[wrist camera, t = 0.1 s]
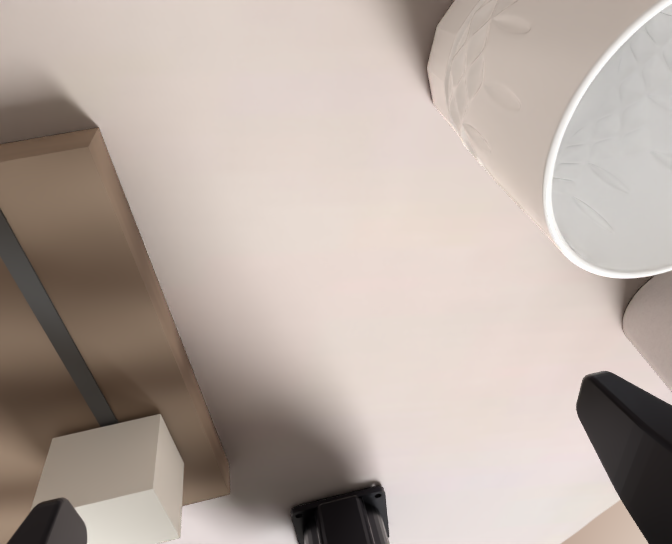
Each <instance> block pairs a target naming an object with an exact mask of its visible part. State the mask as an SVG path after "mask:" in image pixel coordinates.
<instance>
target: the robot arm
mask: <svg viewBox="0 0 672 544" xmlns="http://www.w3.org/2000/svg"><path fill="white" fill-rule="evenodd" d="M576 410H577V414H578V417H579V419H580V421H581V423H582V425H583V427H584V429H585V431H586V433H587V435H588V437H589V439H590V441H591V443H592V445H593V447H594V449H595V451H596V453H597V455H598V457H599V459H600V461H601V463H602V465H603V467H604V469H605V471H606V473H607V474H608V476H609V478H610V480H611V482H612V484H613V486H614V488H615V490H616V492H617V493H618V495H619V497H620V499H621V500H622V502H623V504H624V505H625V507H626V509H627V510H628V512H629V513H630V515H631V516H632V518H633V520H634V521H635V523H636V524H637V526H638V527H639V529H640V530H641V532H642V533H643V535H644V537H645V538H646V540H647V541H648V543H649V544H672V405H670V404H668V403H666V402H664V401H663V400H661V399H659V398H657V397H655V396H653V395H652V394H650V393H648V392H646V391H644V390H643V389H641V388H639V387H637V386H635V385H633V384H632V383H630V382H628V381H626V380H624V379H623V378H621V377H619V376H617V375H615V374H613V373H611V372H608V371H601V372H597V373H593V374H588V375H586V376H585V377H584V378H583V380H582V384H581V388H580V392H579V396H578V400H577V404H576ZM291 517H292V521H293V524H294V527H295V531H296V534H297V538H298V541H299V544H389V540H388V537H389V528H388V518H387V508H386V497H385V492H384V489H383V487H381V486H376V487H372V488H368V489H364V490H360V491H356V492H352V493H348V494H344V495H340V496H336V497H332V498H328V499H324V500H320V501H316V502H312V503H308V504H304V505H300V506H296V507H294V508H293V509H292V510H291ZM7 544H87V529H86V525H85V523H84V521H83V520H82V518H81V517H80V515H79V514H78V513H77V511H76V510H75V508H74V507H73V506H72V504H71V503H70V502H69V500H68V499H66V498H63V497H61V498H56V499H52V500H48V501H43V502H41V503H39V504H37V505H36V506H35V507H34V508H33V509H32V510H31V512H30V513H29V514H28V516H27V517H26V518H25V520H24V521H23V522H22V524H21V525H20V526H19V528H18V529H17V530H16V532H15V533H14V534H13V536H12V537H11V538H10V540H9V541H8V542H7Z"/></svg>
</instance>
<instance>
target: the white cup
mask: <svg viewBox="0 0 672 544" xmlns="http://www.w3.org/2000/svg"><path fill="white" fill-rule="evenodd" d="M427 72H428V77H429V83H430V88H431V94H432V100H433V105H434V107H435V108H436V109H437V110H438V112H439V113H440V114H441V115H442V117H443V118H444V119H445V120H446V122H447V123H448V124H449V125H450V127H451V128H452V129H453V130H454V132H455V133H456V134H457V135H458V136H459V137H460V138H461V141H462V143H463V145H464V146H465V147H466V149H467V150H468V151H469V152H470V153H471V154H472V155H473V156H474V157H475V159H476V160H477V161H478V163H479V164H480V165H481V166H482V167H483V168H484V169H485V170H486V171H487V172H488V173H489V174H490V176H491V177H492V178H493V180H494V181H495V182H496V183H497V184H498V185H499V186H500V187H501V189H502V190H503V191H504V192H505V193H506V194H507V195H508V196H509V197H510V198H511V199H512V200H513V201H514V202H515V203H516V204H517V205H518V206H519V207H520V209H521V210H522V211H523V212H524V213H525V214H526V215H527V216H528V217H529V218H530V219H531V220H532V221H533V222H534V223H535V224H536V226H537V227H538V228H539V229H540V230H541V231H542V232H543V233H544V234H545V235H546V236H547V237H548V238H549V239H550V240H551V242H552V243H553V244H554V245H555V246H556V247H557V248H558V249H559V250H560V251H561V252H562V253H563V255H564V256H565V257H567V258H568V259H569V260H570V261H571V262H572V263H574V264H575V265H577V266H578V267H580V268H582V269H584V270H586V271H588V272H591V273H594V274H597V275H600V276H605V277H611V278H640V277H647V276H652V275H657V274H661V273H665V272H668V271H671V270H672V0H454V2H453V3H452V5H451V6H450V8H449V9H448V11H447V12H446V14H445V15H444V17H443V18H442V19H441V21H440V22H439V24H438V25H437V27H436V32H435V36H434V40H433V44H432V48H431V53H430V57H429V61H428V65H427Z"/></svg>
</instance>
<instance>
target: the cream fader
mask: <svg viewBox="0 0 672 544" xmlns="http://www.w3.org/2000/svg"><path fill="white" fill-rule="evenodd" d="M183 476H184V462H183V460H182V458H181V456H180V454H179V452H178V450H177V448H176V445H175V443H174V441H173V439H172V437H171V435H170V433H169V431H168V428H167V426H166V424H165V422H164V420H163V418H162V416H161V414H157V415H153V416H148V417H144V418H140V419H135V420H131V421H126V422H122V423H118V424H113V425H109V426H104V427H100V428H96V429H91V430H87V431H82V432H78V433H74V434H69V435H65V436H60V437H56V438H53V439H52V442H51V445H50V448H49V452H48V455H47V458H46V461H45V465H44V468H43V471H42V475H41V478H40V481H39V484H38V488H37V491H36V494H35V497H34V501H33V504H32V507H31V510H32V509H33V508H34V507H35V506H36V505H37V504H39V503H41V502H43V501H48V500H52V499H56V498H61V497H63V498H66V499H68V500H69V502H70V503H71V504H72V506H73V507H74V508H75V510H76V511H77V513H78V514H79V515H80V517H81V518H82V520H83V521H84V523H85V525H86V529H87V544H159V543H163V542H167V541H171V540H175V539H179V538H180V536H181V516H182V496H183ZM31 510H30V512H31Z"/></svg>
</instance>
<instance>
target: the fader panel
mask: <svg viewBox="0 0 672 544" xmlns="http://www.w3.org/2000/svg"><path fill="white" fill-rule="evenodd" d="M157 414H161V416H162V418H163V420H164V422H165V424H166V426H167V428H168V431H169V433H170V435H171V437H172V439H173V441H174V443H175V445H176V448H177V450H178V452H179V454H180V456H181V458H182V460H183V462H184V476H183V496H182V506H185V505H189V504H193V503H197V502H201V501H205V500H209V499H213V498H217V497H221V496H226V495H230V476H229V463H228V460H227V458H226V455H225V453H224V450H223V447H222V445H221V442H220V440H219V437H218V435H217V432H216V429H215V427H214V424H213V422H212V419H211V416H210V414H209V411H208V409H207V406H206V404H205V401H204V398H203V396H202V393H201V391H200V388H199V385H198V383H197V380H196V378H195V375H194V373H193V370H192V367H191V365H190V362H189V360H188V357H187V354H186V352H185V349H184V347H183V344H182V342H181V339H180V336H179V334H178V331H177V329H176V326H175V323H174V321H173V318H172V316H171V313H170V310H169V308H168V305H167V303H166V300H165V298H164V295H163V292H162V290H161V287H160V285H159V282H158V279H157V277H156V274H155V272H154V269H153V267H152V264H151V261H150V259H149V256H148V254H147V251H146V248H145V246H144V243H143V241H142V238H141V236H140V233H139V230H138V228H137V225H136V223H135V220H134V217H133V215H132V212H131V210H130V207H129V205H128V202H127V199H126V197H125V194H124V192H123V189H122V186H121V184H120V181H119V179H118V176H117V174H116V171H115V168H114V166H113V163H112V161H111V158H110V155H109V153H108V150H107V148H106V145H105V143H104V140H103V137H102V135H101V132H100V130H99V127H98V128H93V129H87V130H81V131H75V132H69V133H63V134H58V135H52V136H46V137H40V138H34V139H28V140H23V141H17V142H11V143H5V144H0V544H7V542H8V541H9V540H10V538H11V537H12V536H13V534H14V533H15V532H16V530H17V529H18V528H19V526H20V525H21V524H22V522H23V521H24V520H25V518H26V517H27V516H28V514H29V513H30V510H31V507H32V504H33V501H34V497H35V494H36V491H37V488H38V484H39V481H40V478H41V475H42V471H43V468H44V465H45V461H46V458H47V455H48V452H49V448H50V445H51V442H52V439H53V438H56V437H60V436H65V435H69V434H74V433H78V432H82V431H87V430H91V429H96V428H100V427H104V426H109V425H113V424H118V423H122V422H126V421H131V420H135V419H140V418H144V417H148V416H153V415H157Z"/></svg>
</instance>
